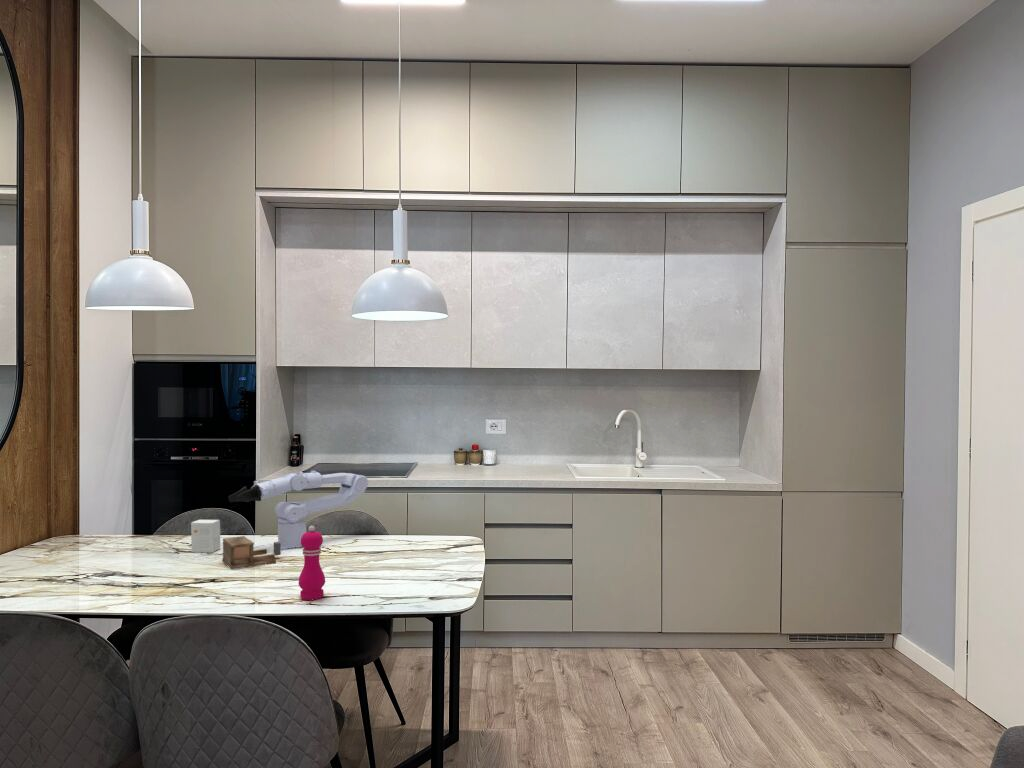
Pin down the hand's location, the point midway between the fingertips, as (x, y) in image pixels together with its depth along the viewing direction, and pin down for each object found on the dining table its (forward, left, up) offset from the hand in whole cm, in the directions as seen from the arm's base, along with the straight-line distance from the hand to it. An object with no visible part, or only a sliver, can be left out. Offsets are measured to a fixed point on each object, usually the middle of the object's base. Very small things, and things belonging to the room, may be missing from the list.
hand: (233, 498), depth 256 cm
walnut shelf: (-2, +12, -19) cm, 23 cm away
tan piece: (-4, +12, -18) cm, 22 cm away
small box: (+6, -13, -20) cm, 24 cm away
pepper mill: (-6, +61, -20) cm, 64 cm away
